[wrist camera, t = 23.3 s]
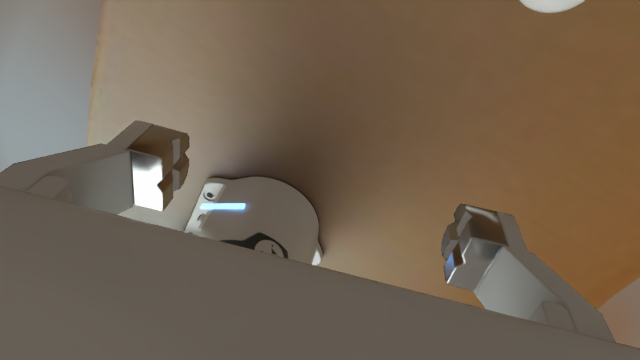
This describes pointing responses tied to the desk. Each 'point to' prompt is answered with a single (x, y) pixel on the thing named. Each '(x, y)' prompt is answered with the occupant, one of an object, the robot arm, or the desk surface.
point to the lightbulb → (551, 5)
